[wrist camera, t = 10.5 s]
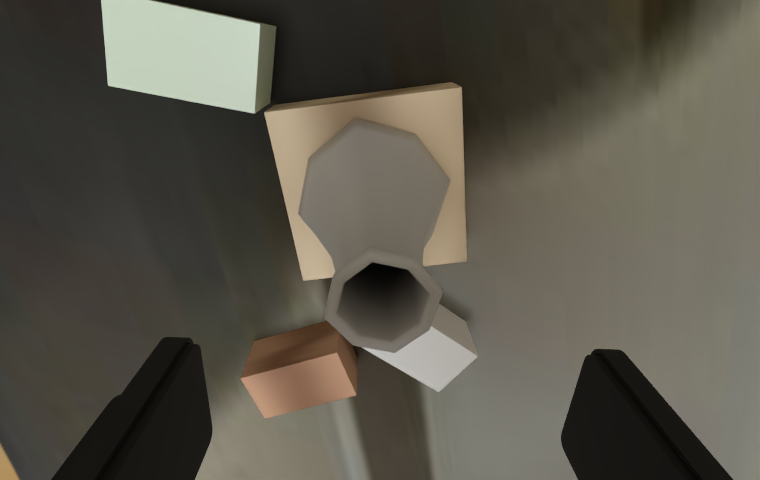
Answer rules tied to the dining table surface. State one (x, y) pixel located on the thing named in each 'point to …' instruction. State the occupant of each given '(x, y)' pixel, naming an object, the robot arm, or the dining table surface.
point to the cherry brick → (300, 369)
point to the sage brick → (188, 54)
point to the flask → (376, 231)
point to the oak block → (389, 108)
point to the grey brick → (435, 351)
